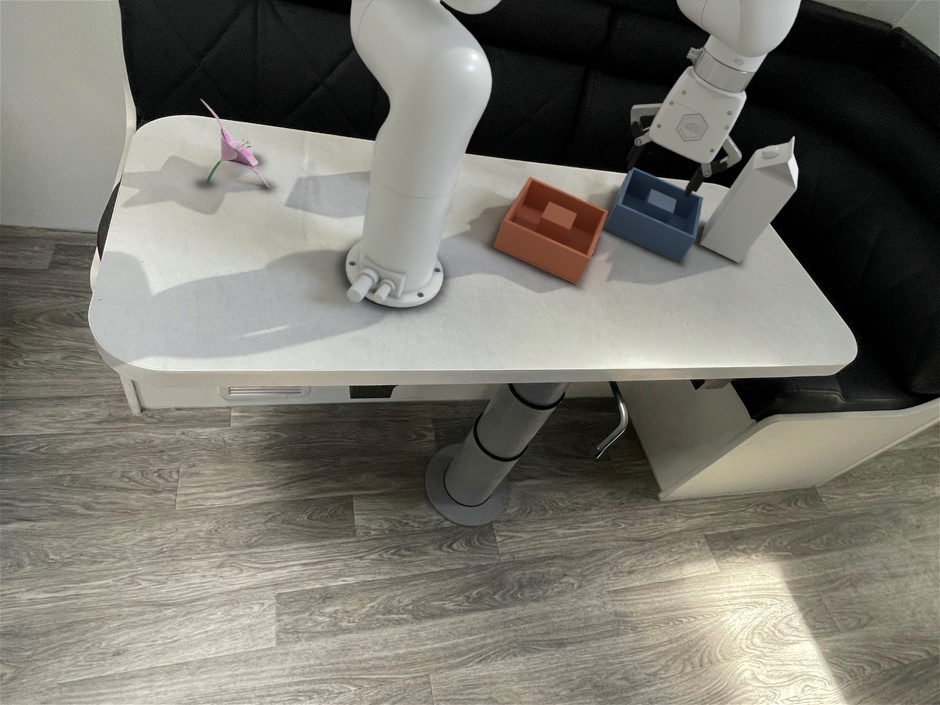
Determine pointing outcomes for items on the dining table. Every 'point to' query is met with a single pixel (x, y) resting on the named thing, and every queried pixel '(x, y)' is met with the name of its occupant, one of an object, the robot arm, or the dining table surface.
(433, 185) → the robot arm
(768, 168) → the milk carton
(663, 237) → the slate bin
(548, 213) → the terracotta block
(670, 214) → the slate block
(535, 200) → the terracotta bin
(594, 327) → the dining table surface
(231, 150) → the lily
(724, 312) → the dining table surface
